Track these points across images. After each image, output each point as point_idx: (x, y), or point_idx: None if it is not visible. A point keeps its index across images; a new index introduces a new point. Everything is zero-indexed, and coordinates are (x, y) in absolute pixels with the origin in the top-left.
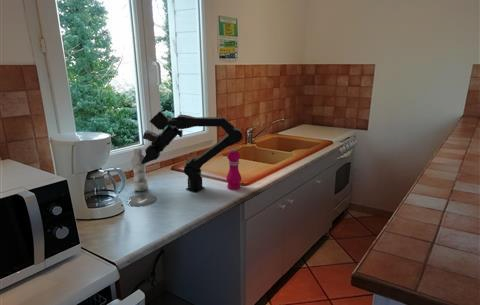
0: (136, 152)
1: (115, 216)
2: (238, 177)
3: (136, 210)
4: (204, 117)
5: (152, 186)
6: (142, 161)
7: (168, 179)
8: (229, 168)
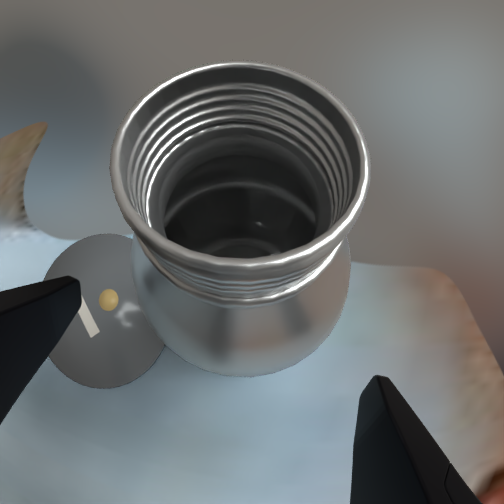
0: (146, 143)
1: (21, 200)
2: None
3: (20, 273)
4: None
5: (285, 395)
6: (39, 291)
7: None
8: None
